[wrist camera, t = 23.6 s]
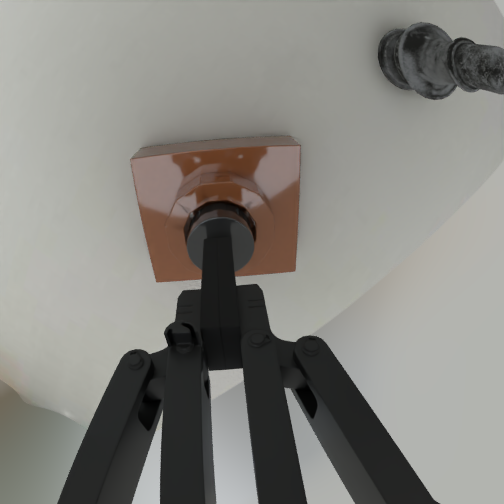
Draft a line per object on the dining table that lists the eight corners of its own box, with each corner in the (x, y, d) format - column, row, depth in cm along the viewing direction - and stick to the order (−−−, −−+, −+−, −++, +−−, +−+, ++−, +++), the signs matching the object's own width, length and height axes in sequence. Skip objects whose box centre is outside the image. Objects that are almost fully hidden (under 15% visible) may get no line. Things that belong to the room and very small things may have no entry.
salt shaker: (435, 95, 20) (546, 134, 10) (377, 92, 20) (491, 126, 10) (431, 31, 16) (546, 38, 6) (371, 21, 16) (485, 5, 6)
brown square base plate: (290, 135, 21) (309, 152, 17) (288, 251, 27) (301, 287, 23) (140, 147, 20) (120, 168, 16) (161, 261, 26) (152, 299, 22)
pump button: (250, 200, 19) (253, 214, 17) (252, 254, 21) (255, 272, 19) (185, 205, 19) (182, 220, 17) (193, 259, 21) (191, 277, 19)
